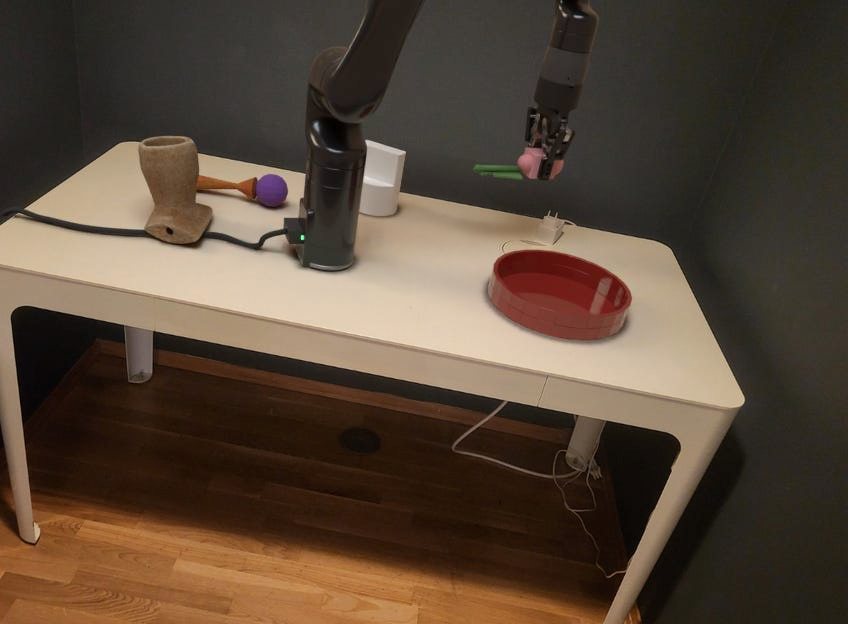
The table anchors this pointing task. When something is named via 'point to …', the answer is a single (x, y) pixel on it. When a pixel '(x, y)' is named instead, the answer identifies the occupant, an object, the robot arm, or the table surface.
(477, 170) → the tulip
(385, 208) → the base with upright slab
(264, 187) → the kendama
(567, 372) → the table surface
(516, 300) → the bowl
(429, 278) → the table surface
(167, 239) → the stone cup
